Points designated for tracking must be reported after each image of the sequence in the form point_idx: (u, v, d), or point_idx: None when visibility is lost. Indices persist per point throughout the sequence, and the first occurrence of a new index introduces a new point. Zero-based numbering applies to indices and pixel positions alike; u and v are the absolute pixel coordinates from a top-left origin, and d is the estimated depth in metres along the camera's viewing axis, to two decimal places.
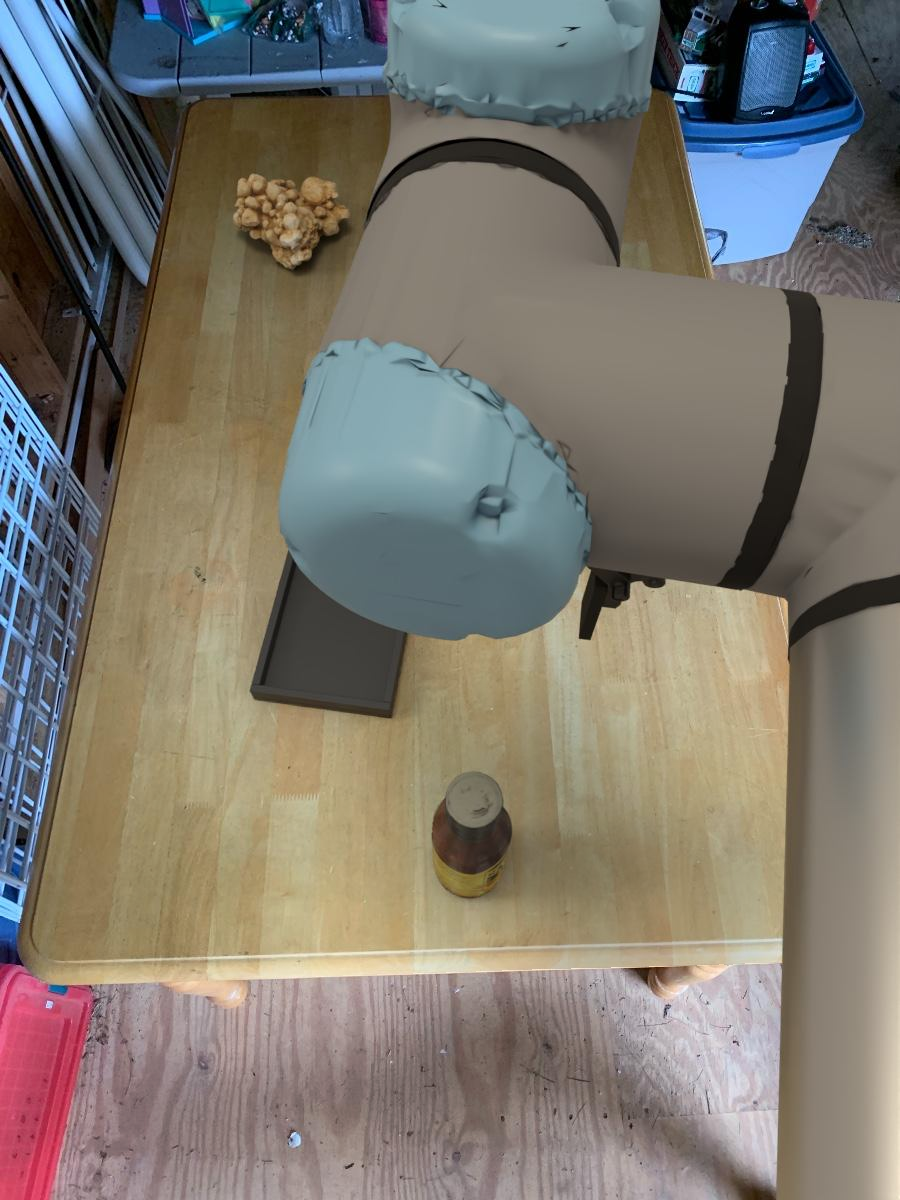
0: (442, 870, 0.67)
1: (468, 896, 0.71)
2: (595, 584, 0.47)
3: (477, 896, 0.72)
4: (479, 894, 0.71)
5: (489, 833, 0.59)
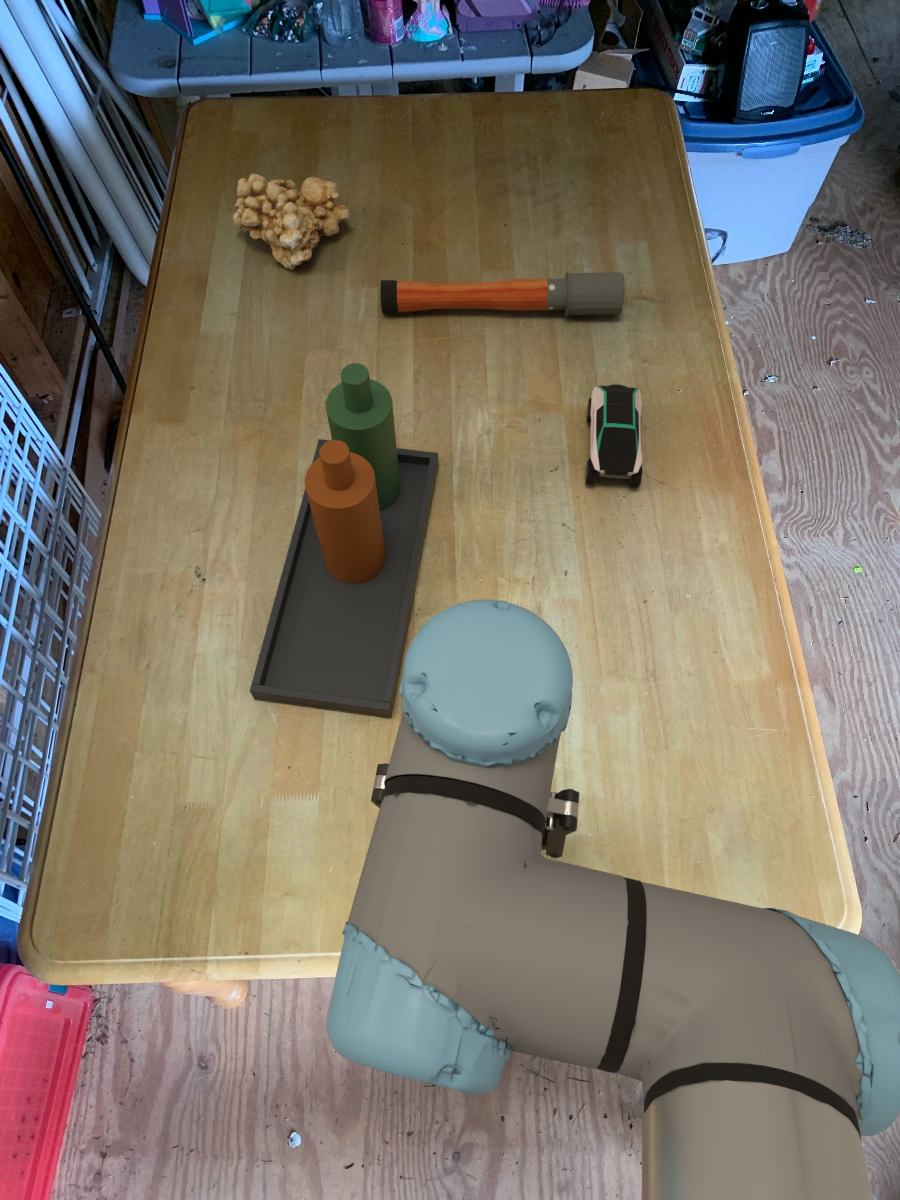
0: None
1: None
2: None
3: None
4: None
5: None
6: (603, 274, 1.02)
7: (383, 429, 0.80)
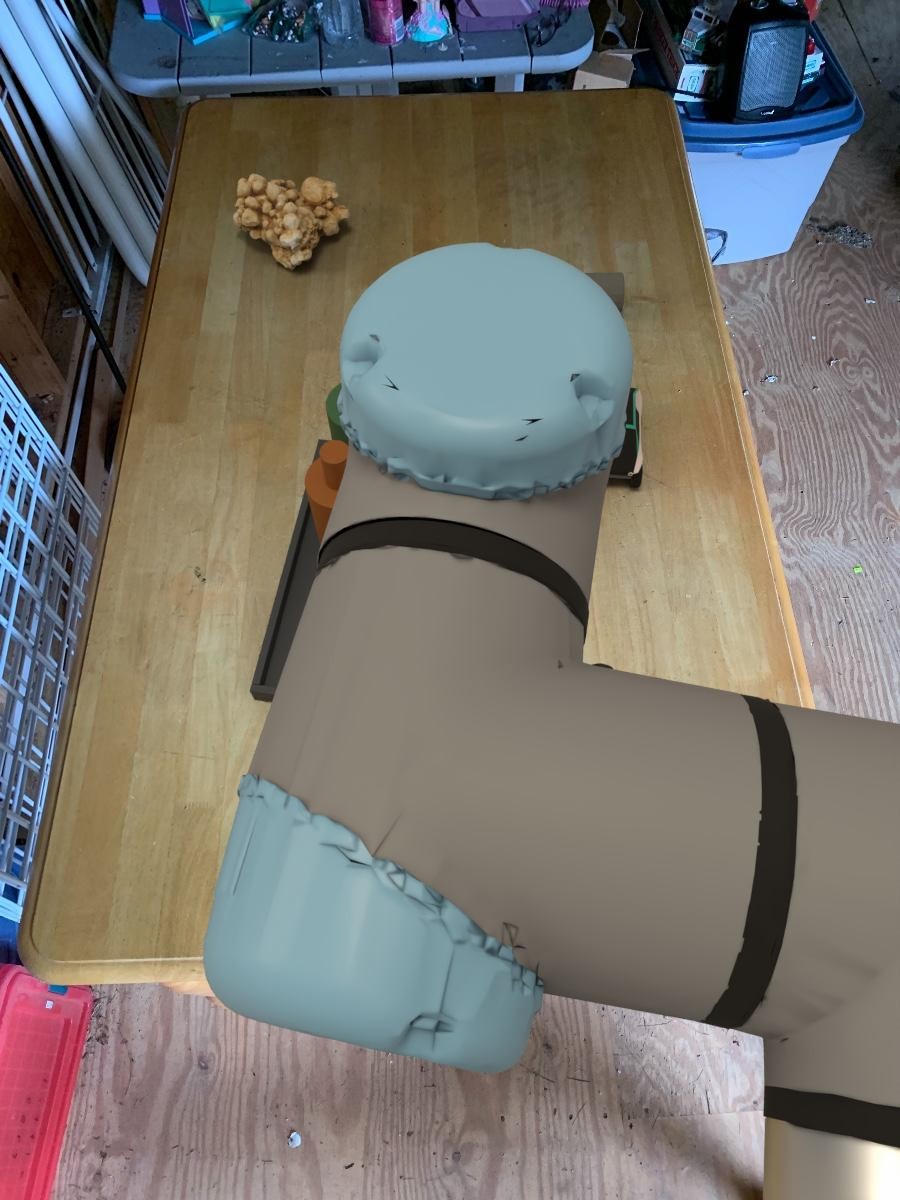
0: None
1: None
2: None
3: None
4: None
5: None
6: (603, 274, 1.02)
7: None
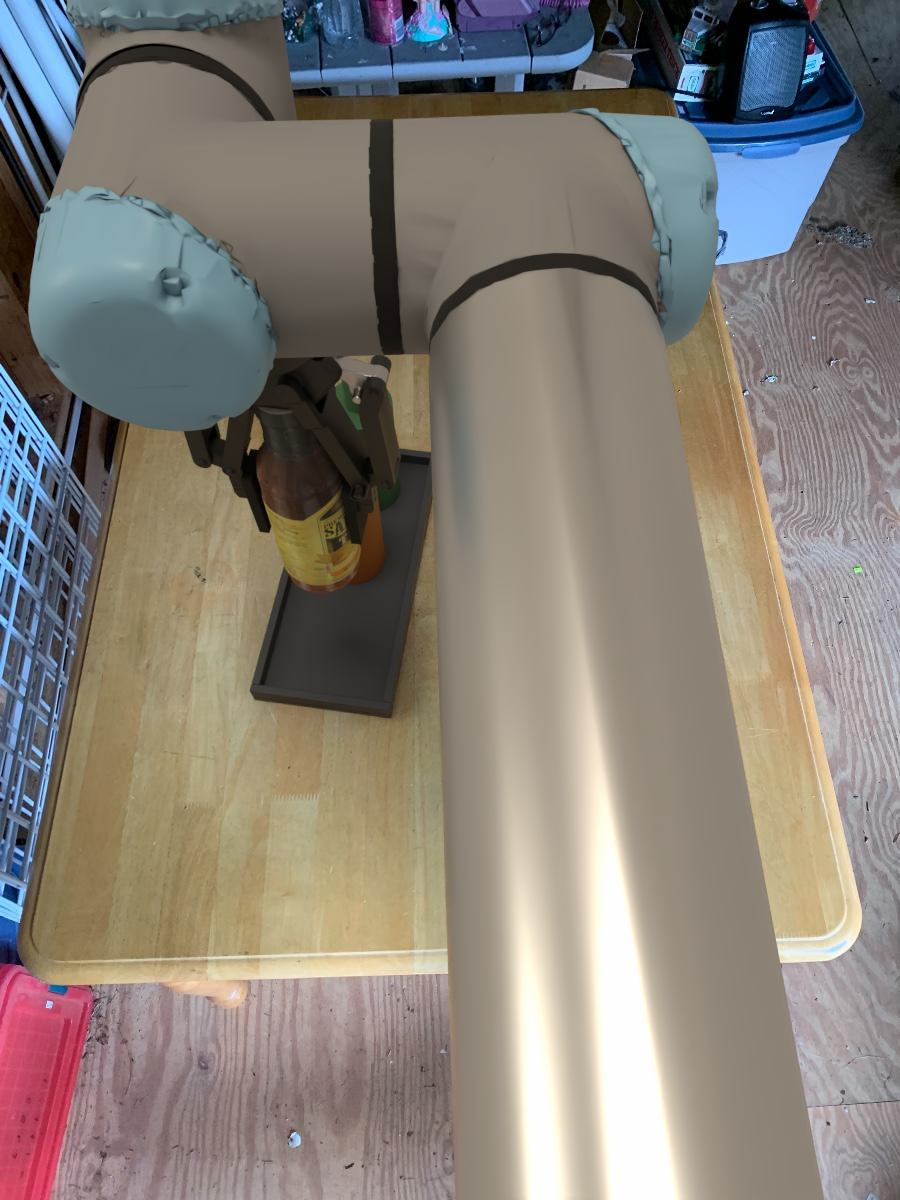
0: (277, 534, 0.60)
1: (316, 584, 0.64)
2: (343, 488, 0.56)
3: (330, 592, 0.66)
4: (328, 581, 0.64)
5: (308, 446, 0.53)
6: None
7: None
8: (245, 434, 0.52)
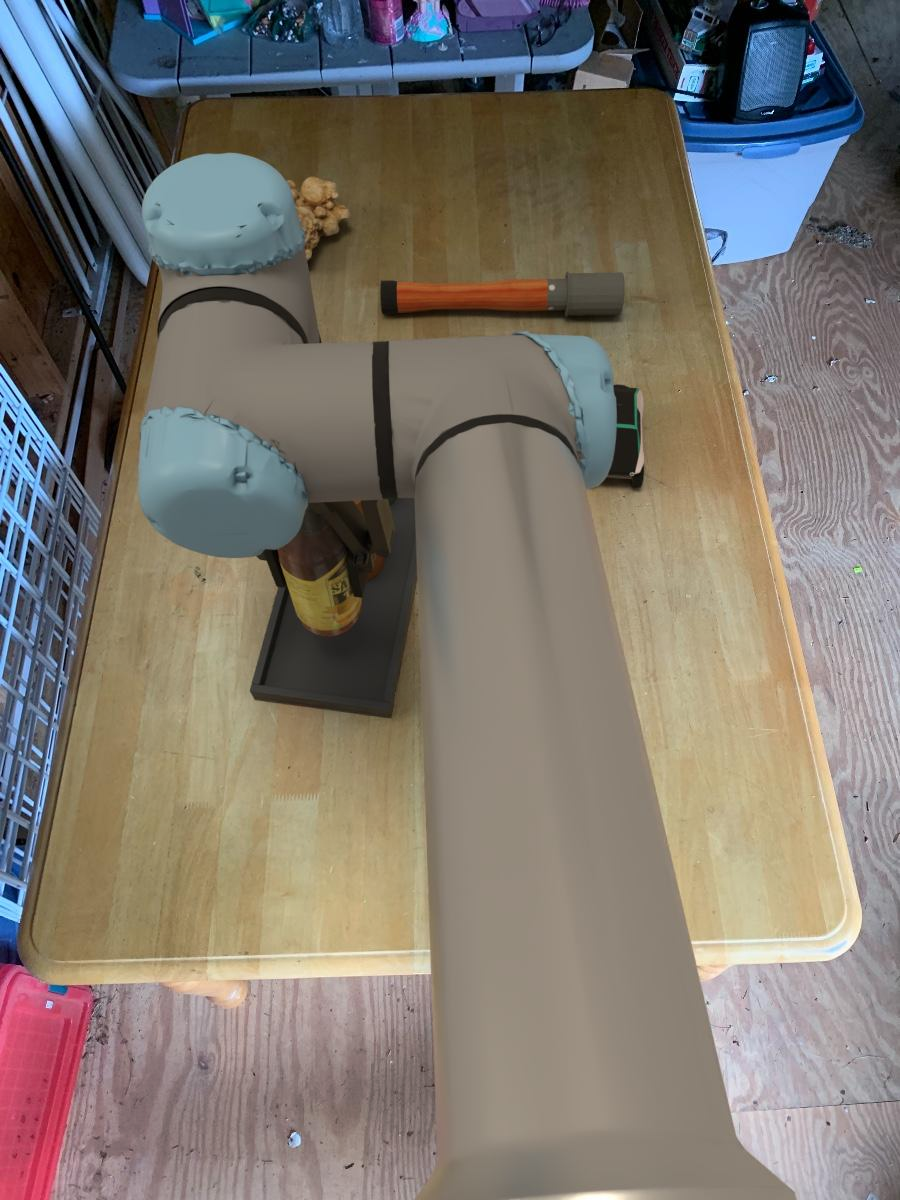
0: (292, 590, 0.71)
1: (324, 630, 0.76)
2: (347, 555, 0.67)
3: (335, 635, 0.77)
4: (334, 627, 0.75)
5: (318, 524, 0.64)
6: (603, 274, 1.02)
7: None
8: None
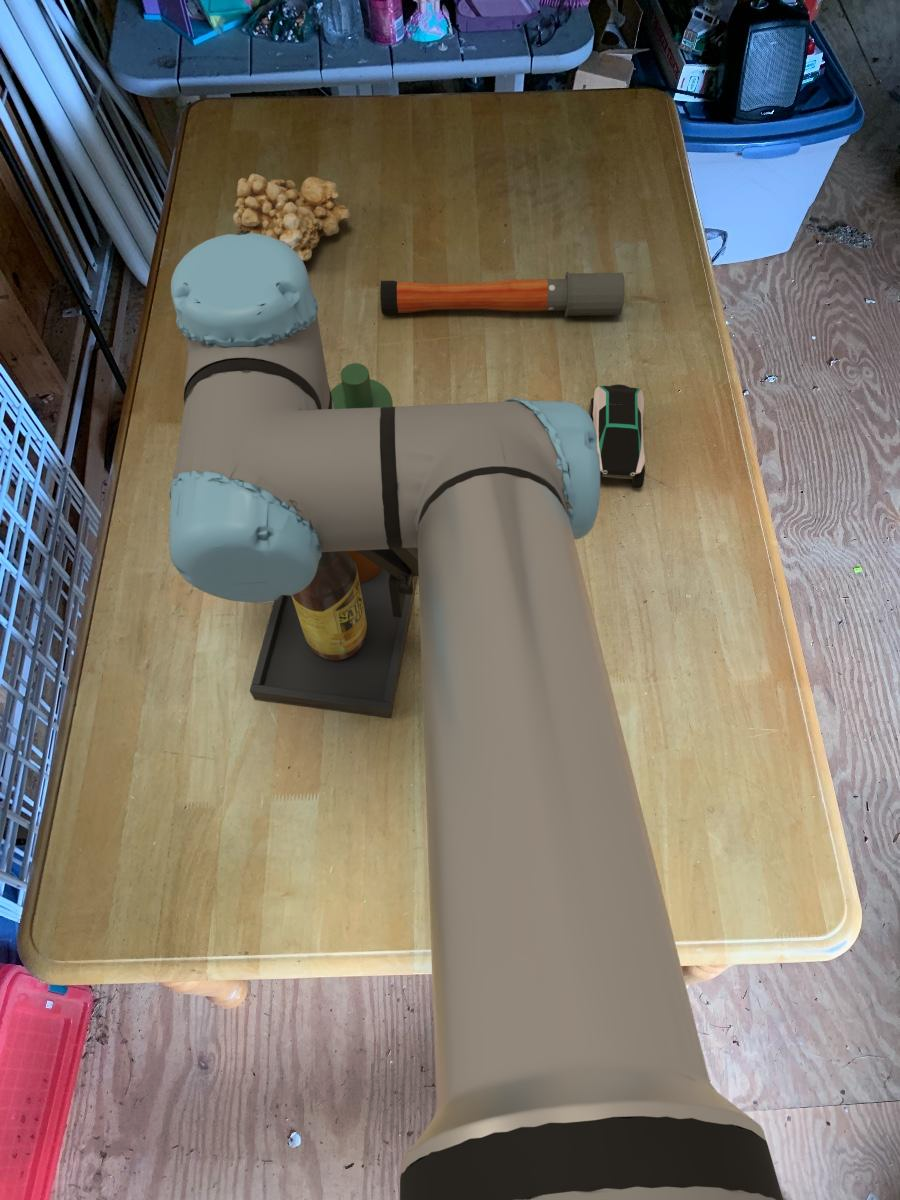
0: (301, 618, 0.76)
1: (332, 654, 0.80)
2: (389, 577, 0.70)
3: (342, 659, 0.82)
4: (341, 652, 0.80)
5: (327, 560, 0.69)
6: (603, 274, 1.02)
7: None
8: None
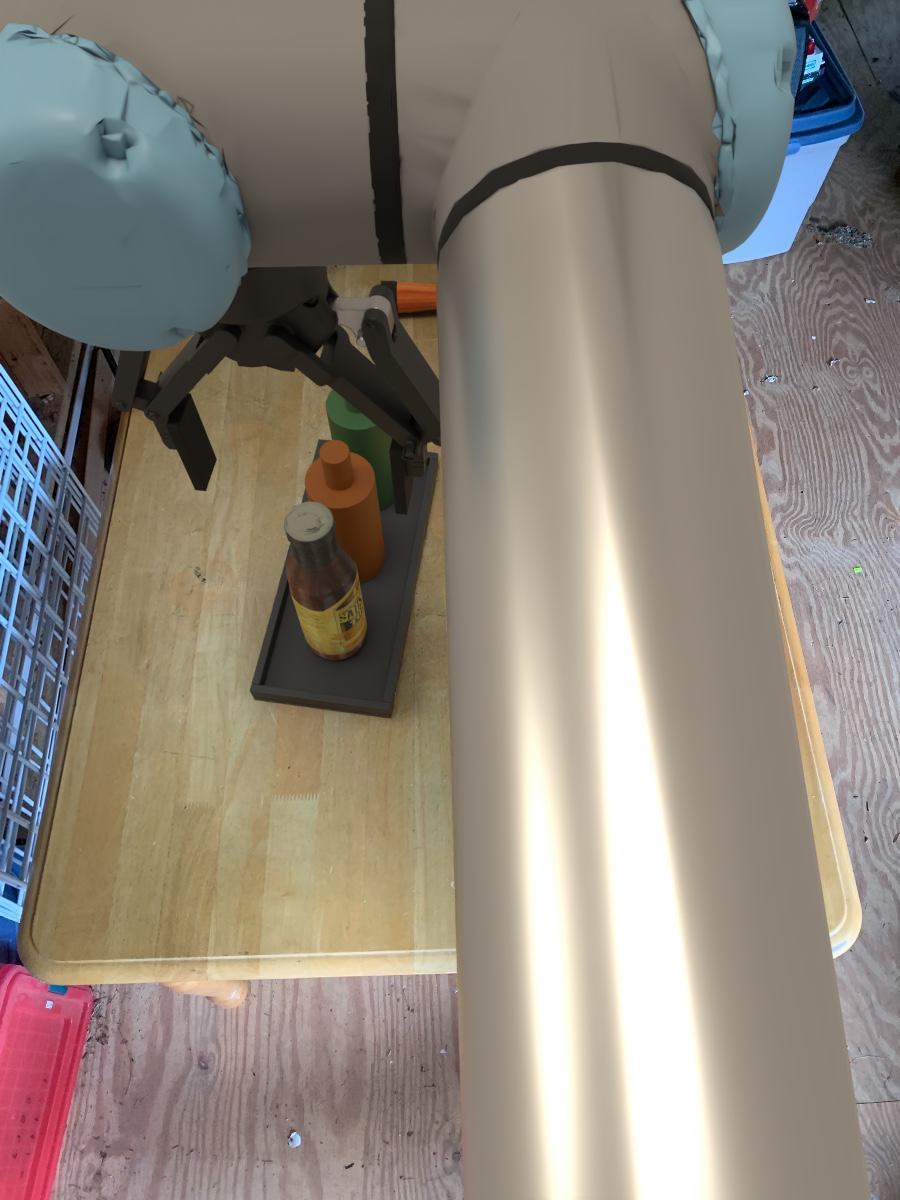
0: (301, 618, 0.76)
1: (332, 654, 0.80)
2: (391, 446, 0.49)
3: (342, 659, 0.82)
4: (341, 652, 0.80)
5: (327, 560, 0.69)
6: None
7: None
8: (195, 383, 0.46)
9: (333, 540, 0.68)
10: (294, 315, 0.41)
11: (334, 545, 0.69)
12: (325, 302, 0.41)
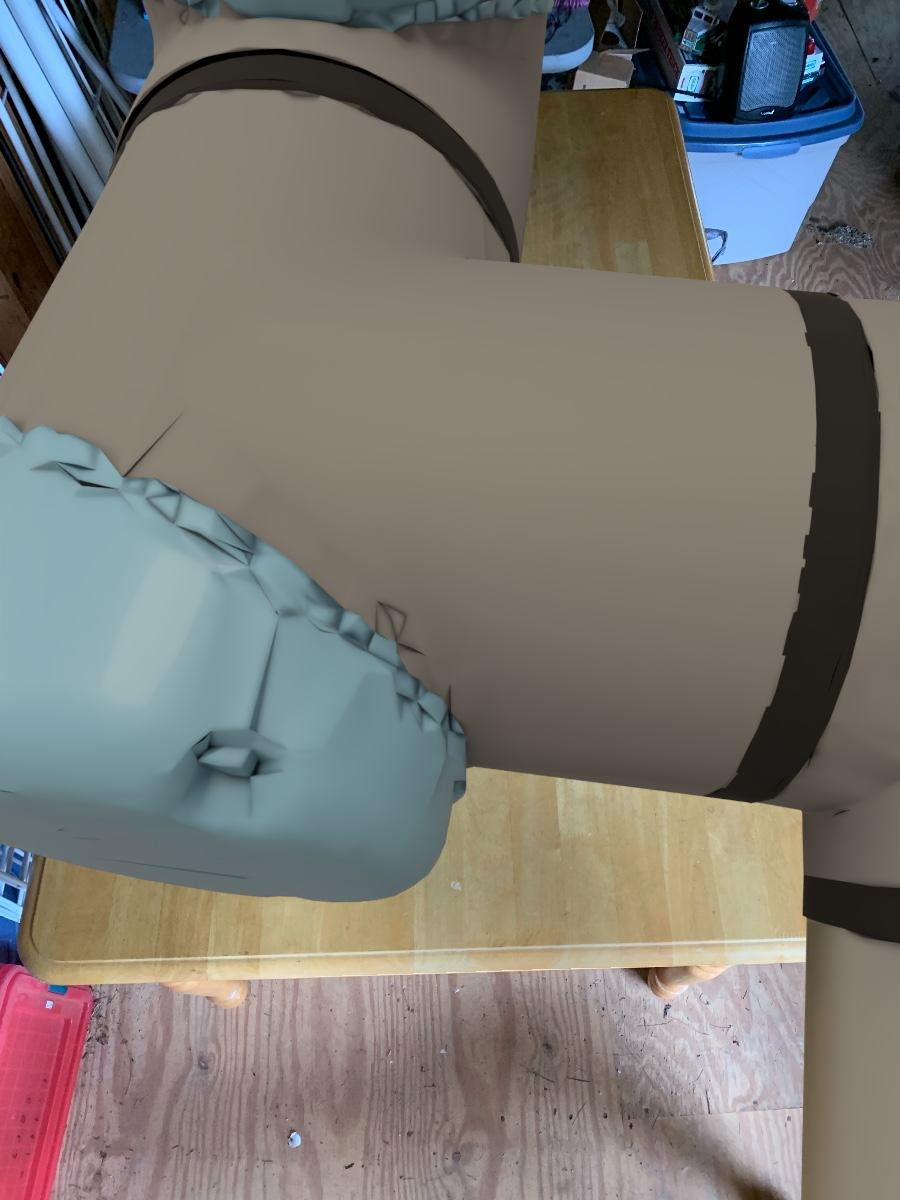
0: None
1: None
2: None
3: None
4: None
5: None
6: None
7: None
8: None
9: None
10: None
11: None
12: None
